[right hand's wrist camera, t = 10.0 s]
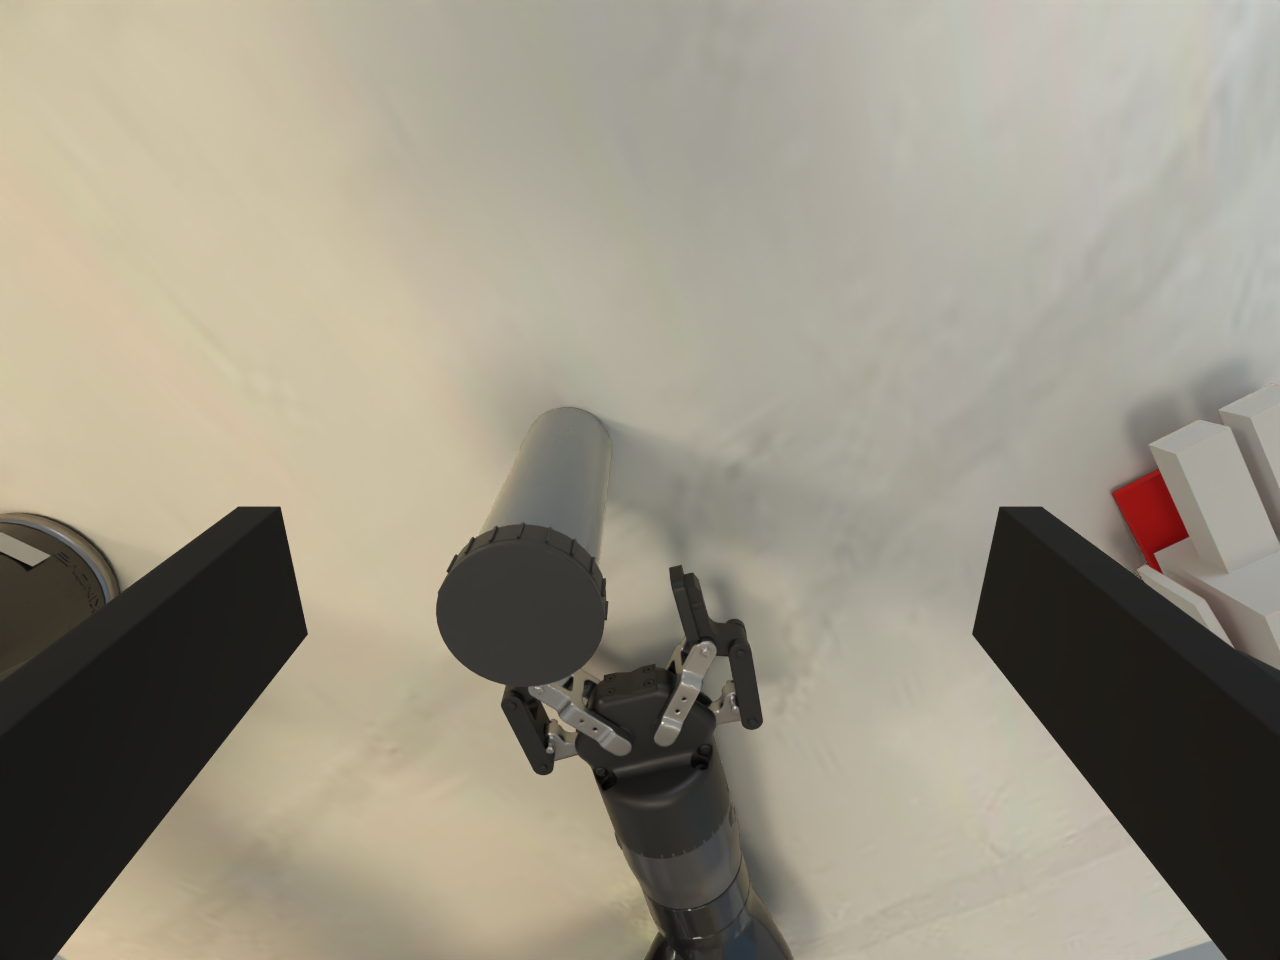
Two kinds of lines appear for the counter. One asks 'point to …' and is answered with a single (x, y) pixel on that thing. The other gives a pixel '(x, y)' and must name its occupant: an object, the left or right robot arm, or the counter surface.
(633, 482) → the counter surface
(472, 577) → the lid
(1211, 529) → the toy
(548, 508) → the jar
